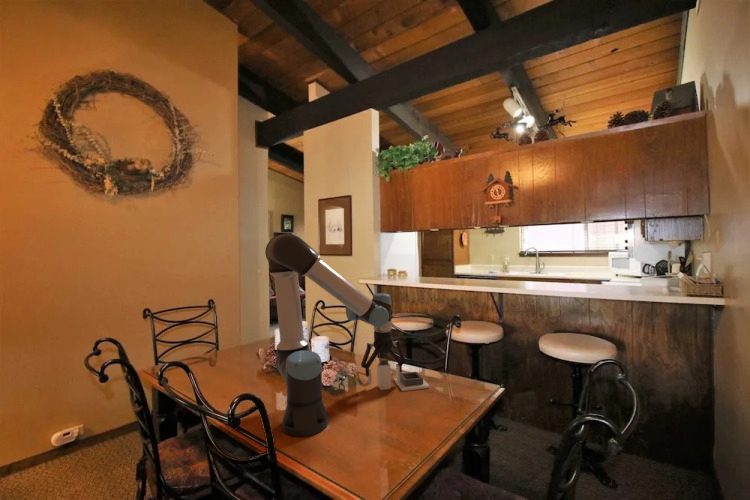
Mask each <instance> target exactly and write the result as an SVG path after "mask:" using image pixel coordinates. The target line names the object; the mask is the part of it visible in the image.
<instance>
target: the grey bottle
mask: <svg viewBox="0 0 750 500" xmlns="http://www.w3.org/2000/svg"><path fill="white" fill-rule="evenodd" d="M376 367H377V369H376V370H377V387H378V389H379V390H380V391H382V390H391V389H392V388H391V387H392V386H391V384H392V383H391V381H392V379H391V363H389V361H388V359H387V358H379V361H377V362H376Z"/></svg>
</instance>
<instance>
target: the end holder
mask: <svg viewBox="0 0 750 500" xmlns="http://www.w3.org/2000/svg"><path fill="white" fill-rule="evenodd" d="M393 381H394V383H395V384H396V385H397V386H398V389H400V391H401V392H407V391H408V392H409V391H415V390H423V389H424V390H425V389H430V388H431V387H430V384H429V383H428V382H427V381H426V380H425V378H424V377H423V376H422V375H421V374H420V373H419V372H418V371H411V372H410V371H409V372H401V373H400V381H398V380H397V379H396V377H393Z"/></svg>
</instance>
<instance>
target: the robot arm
mask: <svg viewBox="0 0 750 500" xmlns="http://www.w3.org/2000/svg"><path fill="white" fill-rule="evenodd" d="M265 258H266V260H267V263H268V271H269V275H270V276H271V277H273V278H274V280H273V281H274V291H275V299H276V300H275V301H276V311H277V319H278V330H279V331H278V332H279V342H278V343H277V345H276V358H275V367H276V369H277V372H278V373H279V374H280V375H281V377H282V378H283V380H284V382H285V383H286V407H285V411H284V413H283V417H282V419H281V430H282V432H283V433H284V434H286V435H287V436H291V437H295V438H303V437H310V436H314V435H317V434H319V433H320V432H323V431H324V430H325V429H326V428H327V427H328V424H329V416H328V415H329V414H328V412H327V409H326V406H325V404H324V401H323V374H322V372H323V371H322V370H323V363H322V358H321V356H320V355H319V354H318V352H315V351H311V350H310V344H309V341H308V340H307V339H306V338H305V336H304V334H305V333H304V325H303V315H302V314H303V313H302V304H301V295H300V294H301V293H300V292H301V291H300V282H299V276H301V277H307V278H308V279H310V280H311V281H312V282H314V284H316V285H317V286H319V287H320V288H322V289H323V290H324V291H325V292H327V293H328V294H329V295H331V296H332V297H334V298H335V300H337V301H339V302H340V303H341V304H343V305H344V306H345V316H346V319H348V320H349V321H354V322H355V321H361V322H364V323H366V324H368V325H370V326H372V327H373V330H374V331H373V342H372V343H369V342H367V343H366V349H365V352H364V354H363V357H362V360H361V363H360V366H361V368H364V369H365V375H366V377H367V383H368V385H369V386H370V385H372V368H371V366H372V364H373V363H374V361H375V360H376V357H378V355H379V354H388V353H389V354H390V355H391V356H392V357H393V359H394V361H396V363H395V372H396V377H395V378H396V379H397V380H398V381H400V373H403V367H402V366H403V364H406V362H407V361H406V358H405V356H404V354H403V351H402V349H401V347H400V342H399V341H398V340H395V341H393V334H392V333H393V332H392V329H393V328H392V299H391V295H390V294H389V293H385V292H384V293H381V292H380V293H375V294H373V295H372V299H371V298H370V297H369V296H367V295H366V294H365V293H364V292H362V290H360V289H359V288H357V287H356V286H355V285H354V284H352V283H351V282H350V281H349V280H347V279H346V278H345V277H344V276H342V275H341V274H340V273H339V272H337V271H336V270H335V269H334V268H332V267H331V266H330V265H328V263H326V262H325V261H324V260H323V259H321V255H320V253H319V252H317V251H316V250H315V249H314V248H313V247H311V246H310V245H309V244H308V243H307V242H306V241H305V240H304V239H302V238H301V237H300V236H298V235H296V234H292V233H285V234H281V235H277V236H274V237H272V238H270V240H269V242H268V243H267V244H266V247H265ZM393 346H394V347H395V349H396V351H397V354H398V356H399V358H400V359H399V358H398V356H397V355H396V354H395V352H394V350H392V347H393ZM373 348H374V350H373V352H372V354H371V355H370V353H371V350H372V349H373Z"/></svg>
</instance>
